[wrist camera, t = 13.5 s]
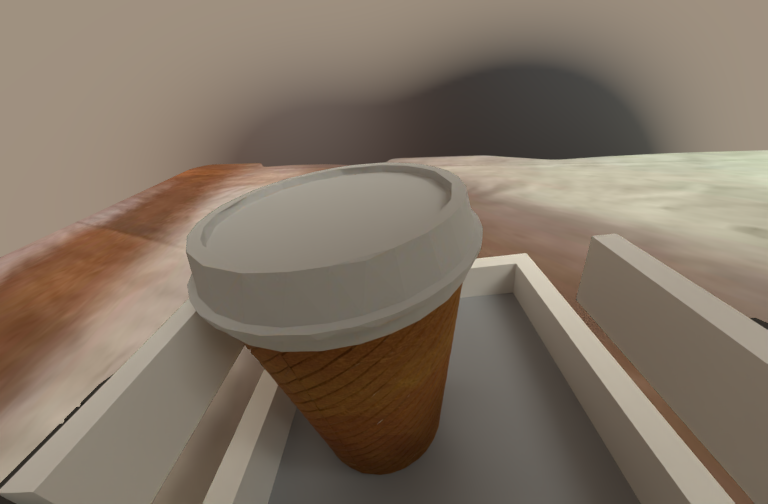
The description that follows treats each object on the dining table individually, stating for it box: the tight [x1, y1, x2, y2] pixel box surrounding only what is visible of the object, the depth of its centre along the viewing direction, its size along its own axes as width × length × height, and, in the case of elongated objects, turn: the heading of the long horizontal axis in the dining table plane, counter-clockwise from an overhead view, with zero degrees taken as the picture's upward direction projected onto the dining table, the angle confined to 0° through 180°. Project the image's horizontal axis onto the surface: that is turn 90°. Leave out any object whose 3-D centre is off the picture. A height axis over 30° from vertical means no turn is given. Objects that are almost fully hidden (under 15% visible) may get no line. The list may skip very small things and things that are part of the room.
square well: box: [202, 253, 735, 504], centre depth 15 cm, size 17×17×4 cm
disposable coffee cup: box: [186, 163, 483, 475], centre depth 12 cm, size 10×10×12 cm
